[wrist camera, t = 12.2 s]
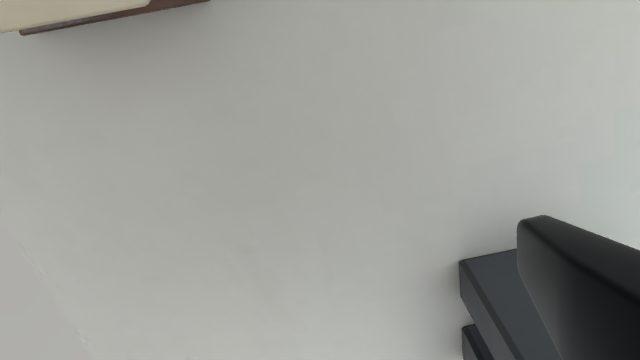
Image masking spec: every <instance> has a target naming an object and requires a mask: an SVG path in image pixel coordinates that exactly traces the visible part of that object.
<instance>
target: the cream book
mask: <svg viewBox="0 0 640 360" xmlns="http://www.w3.org/2000/svg"><path fill="white" fill-rule="evenodd" d="M150 1H151V0H0V34H1V33H6V32H11V31H16V30H22V29H27V28H32V27H38V26H43V25H48V24H54V23H59V22H64V21H70V20H75V19H80V18H86V17H91V16H96V15H102V14H107V13H112V12H118V11H123V10H128V9H134V8H139V7H144V6H146V5H148V3H149V2H150Z"/></svg>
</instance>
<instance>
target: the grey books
mask: <svg viewBox="0 0 640 360" xmlns="http://www.w3.org/2000/svg"><path fill="white" fill-rule="evenodd" d="M459 269H460V292H461V298H462V300H463V302H464V304H465V306H466V308H467V309H468V311H469V313H470V315H471V317H472V319H473V321H474V322H475V324H476V325H472V326H468V327H465V328H463V329H462V337H463V359H464V360H562V358H561V357H560V355H559V353H558V351H557V349H556V347H555V345H554V343H553V341H552V339H551V337H550V335H549V333H548V331H547V329H546V327H545V325H544V323H543V321H542V319H541V317H540V315H539V313H538V311H537V309H536V307H535V305H534V303H533V301H532V299H531V297H530V295H529V293H528V291H527V289H526V287H525V285H524V283H523V281H522V279H521V277H520V274H519V271H518V267H517V249H516V250H511V251H506V252H502V253H497V254H492V255H487V256H482V257H478V258H473V259H468V260H463V261H462V262H459Z"/></svg>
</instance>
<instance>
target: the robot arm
mask: <svg viewBox="0 0 640 360" xmlns="http://www.w3.org/2000/svg"><path fill="white" fill-rule="evenodd" d="M517 267H518V271H519V274H520V277H521V279H522V281H523V283H524V285H525V287H526V289H527V291H528V293H529V295H530V297H531V299H532V301H533V303H534V305H535V307H536V309H537V311H538V313H539V315H540V317H541V319H542V321H543V323H544V325H545V327H546V329H547V331H548V333H549V335H550V337H551V339H552V341H553V343H554V345H555V347H556V349H557V351H558V353H559V355H560V357H561V358H562V360H640V251H639V250H637V249H634V248H632V247H629V246H626V245H624V244H621V243H618V242H616V241H613V240H610V239H608V238H605V237H603V236H600V235H597V234H595V233H592V232H589V231H587V230H584V229H581V228H579V227H576V226H573V225H571V224H568V223H566V222H563V221H560V220H558V219H555V218H552V217H550V216H546V215H540V216H536V217H531V218H527V219H523V220H521V221H520V222H519V223H518V226H517Z"/></svg>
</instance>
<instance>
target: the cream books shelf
mask: <svg viewBox="0 0 640 360" xmlns="http://www.w3.org/2000/svg"><path fill="white" fill-rule="evenodd" d="M208 1H210V0H151V1H150V2H149V3H148V5H146V6H144V7H139V8H134V9H128V10H123V11H118V12H112V13H107V14H102V15H96V16H91V17H86V18H80V19H75V20H70V21H64V22H59V23H54V24H48V25H43V26H38V27H32V28H27V29H22V30H19V33H20V34H21V35H23V36H26V35H31V34H36V33H42V32H47V31H53V30H58V29H63V28H69V27H74V26H79V25H85V24H90V23H95V22H101V21H106V20H112V19H117V18H122V17H128V16H133V15H138V14H144V13H149V12H154V11H160V10H165V9H171V8H176V7H181V6H187V5H192V4H197V3H203V2H208Z"/></svg>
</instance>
